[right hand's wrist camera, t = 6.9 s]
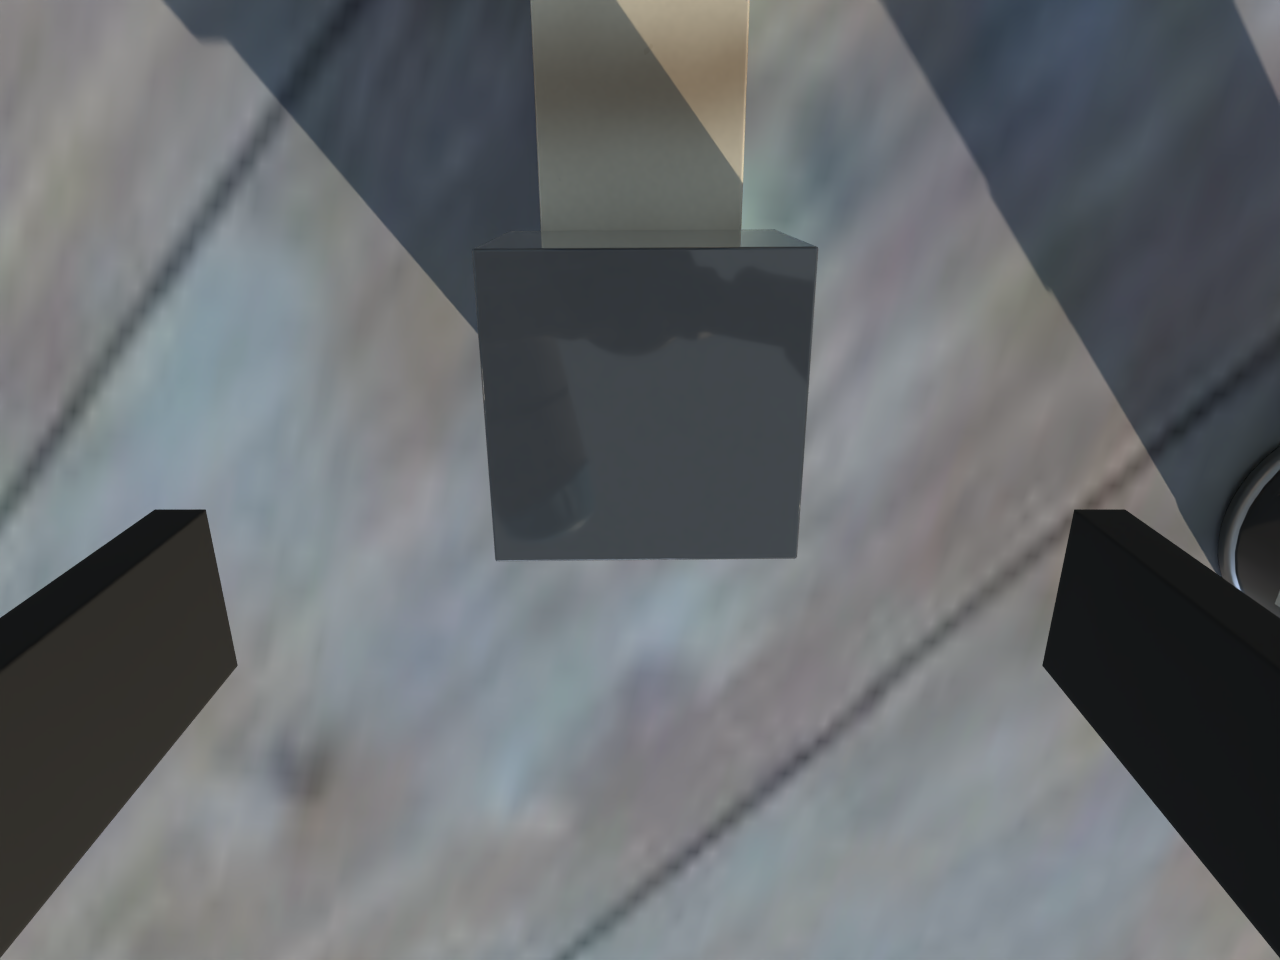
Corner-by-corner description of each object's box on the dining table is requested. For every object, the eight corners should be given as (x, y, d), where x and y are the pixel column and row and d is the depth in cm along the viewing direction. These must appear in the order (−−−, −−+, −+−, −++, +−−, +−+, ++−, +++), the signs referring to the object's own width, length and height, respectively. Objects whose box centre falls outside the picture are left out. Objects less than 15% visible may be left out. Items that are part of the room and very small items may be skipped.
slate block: (763, 479, 27) (797, 559, 22) (523, 481, 27) (495, 562, 22) (776, 228, 24) (818, 246, 19) (508, 231, 24) (471, 248, 19)
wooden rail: (717, 434, 32) (732, 480, 27) (564, 435, 32) (552, 481, 27) (741, -364, 23) (767, -497, 19) (531, -364, 23) (507, -497, 19)
